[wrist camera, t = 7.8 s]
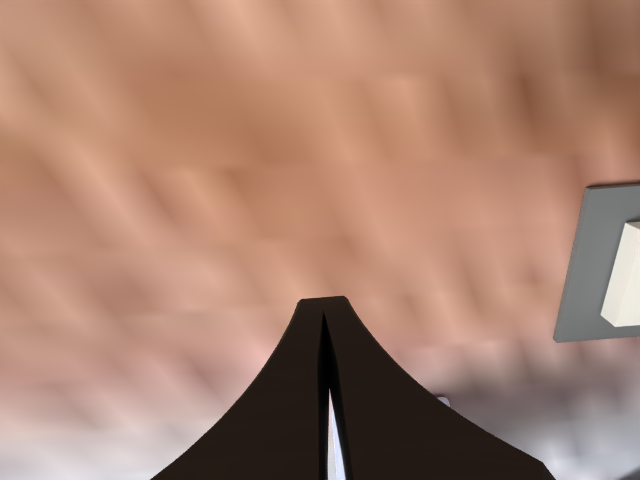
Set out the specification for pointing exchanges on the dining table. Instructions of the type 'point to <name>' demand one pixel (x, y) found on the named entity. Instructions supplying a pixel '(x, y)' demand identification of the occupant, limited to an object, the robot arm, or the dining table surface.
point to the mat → (596, 263)
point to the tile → (625, 281)
